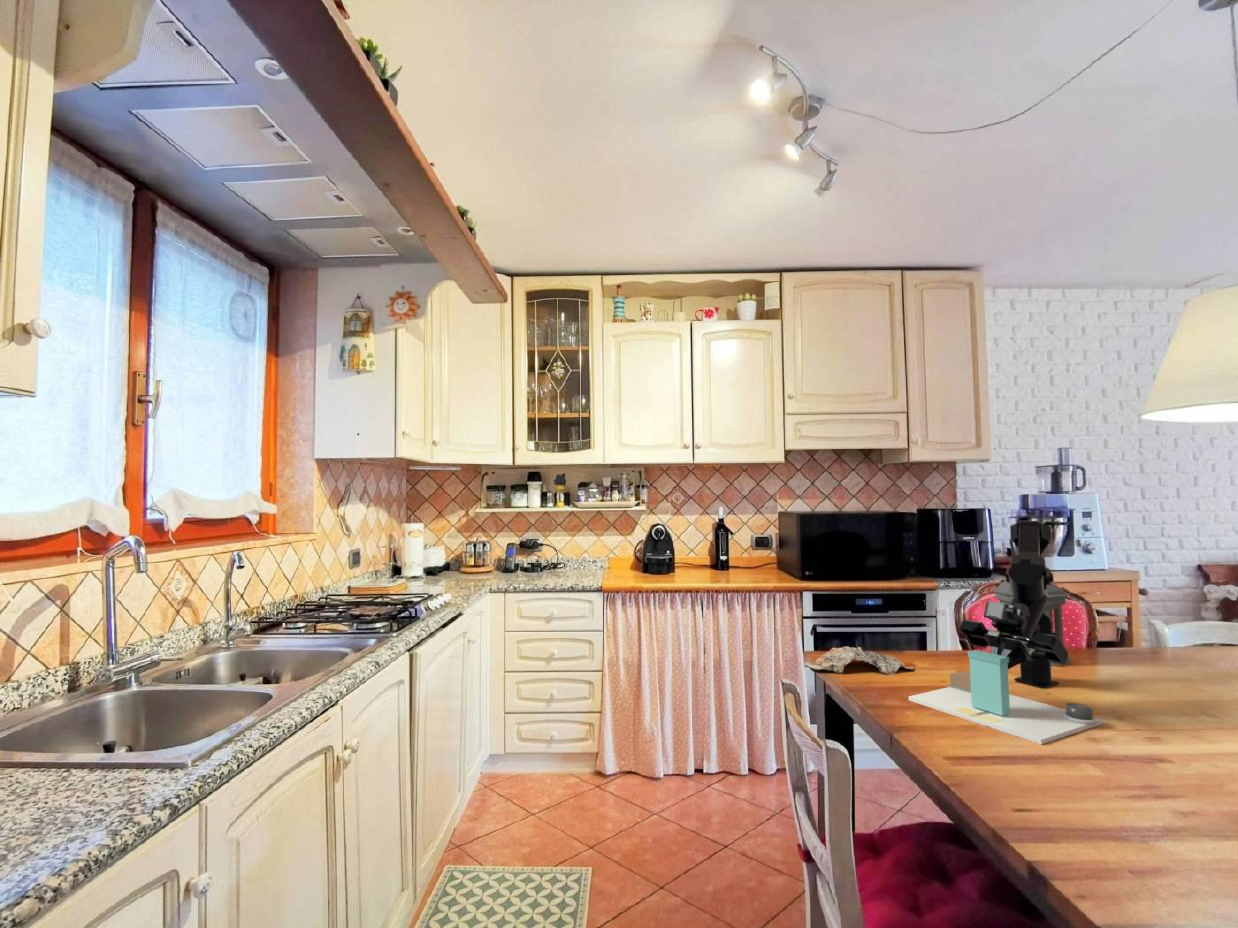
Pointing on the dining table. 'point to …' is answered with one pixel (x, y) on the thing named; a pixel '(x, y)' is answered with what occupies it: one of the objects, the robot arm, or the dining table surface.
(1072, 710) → the console
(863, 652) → the rock
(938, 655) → the dining table surface
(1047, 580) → the robot arm
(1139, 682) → the dining table surface
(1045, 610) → the lantern
